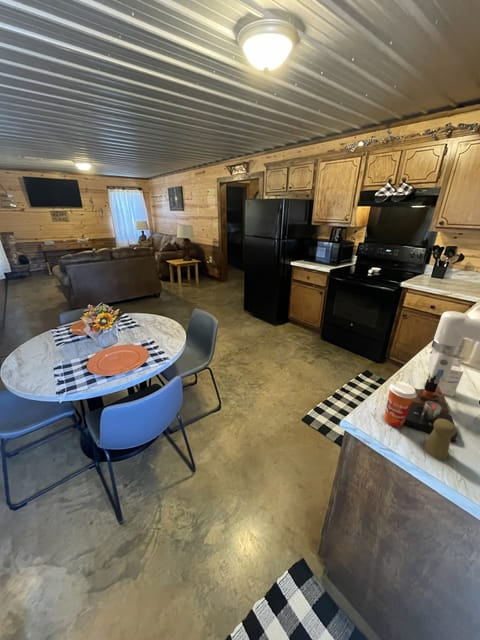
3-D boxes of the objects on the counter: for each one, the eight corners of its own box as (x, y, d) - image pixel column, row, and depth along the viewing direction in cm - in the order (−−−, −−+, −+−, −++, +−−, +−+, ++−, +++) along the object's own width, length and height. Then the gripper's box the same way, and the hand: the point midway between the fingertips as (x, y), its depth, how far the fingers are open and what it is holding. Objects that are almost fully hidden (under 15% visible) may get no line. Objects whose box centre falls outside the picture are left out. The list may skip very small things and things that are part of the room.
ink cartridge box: (428, 391, 107) (439, 359, 101) (426, 384, 111) (436, 353, 105) (454, 397, 103) (466, 364, 98) (450, 390, 108) (462, 358, 102)
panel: (448, 421, 91) (451, 414, 89) (454, 442, 82) (458, 434, 81) (402, 408, 97) (404, 401, 95) (403, 426, 88) (406, 418, 87)
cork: (423, 453, 78) (434, 424, 74) (423, 439, 83) (433, 412, 79) (448, 463, 75) (460, 434, 71) (446, 448, 80) (458, 420, 76)
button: (433, 394, 99) (434, 390, 98) (434, 399, 96) (436, 395, 96) (422, 391, 101) (423, 387, 100) (423, 396, 98) (424, 392, 97)
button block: (442, 400, 101) (445, 391, 100) (447, 416, 93) (450, 407, 92) (406, 390, 106) (409, 382, 105) (408, 405, 98) (411, 396, 97)
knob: (420, 410, 91) (424, 398, 89) (435, 415, 89) (440, 402, 87) (422, 419, 87) (426, 406, 85) (438, 423, 86) (443, 410, 84)
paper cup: (377, 419, 91) (386, 386, 86) (386, 410, 96) (395, 377, 90) (401, 433, 85) (412, 398, 80) (410, 422, 90) (421, 388, 85)
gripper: (463, 359, 83) (445, 405, 90) (454, 340, 95) (438, 382, 102) (435, 353, 86) (419, 398, 93) (429, 336, 98) (415, 377, 105)
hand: (429, 390), depth 98 cm, fingers closed
